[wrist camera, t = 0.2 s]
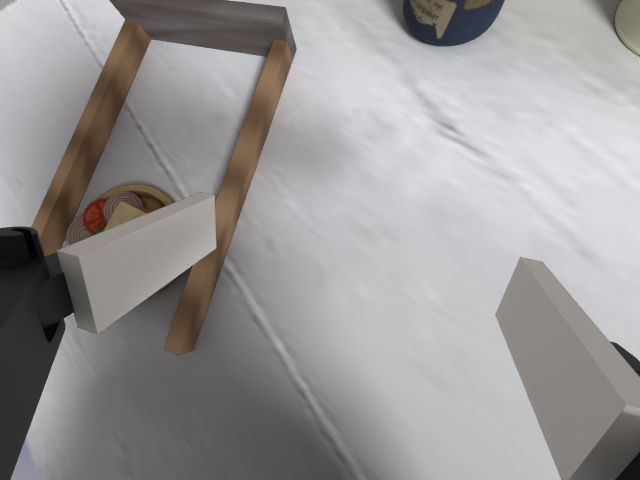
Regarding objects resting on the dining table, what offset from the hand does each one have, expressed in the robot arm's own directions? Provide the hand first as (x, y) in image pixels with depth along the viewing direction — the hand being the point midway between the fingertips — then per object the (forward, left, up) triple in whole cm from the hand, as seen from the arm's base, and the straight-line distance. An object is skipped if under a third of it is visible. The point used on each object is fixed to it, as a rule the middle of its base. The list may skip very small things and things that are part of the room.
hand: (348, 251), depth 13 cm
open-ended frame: (+5, +23, -15) cm, 28 cm away
